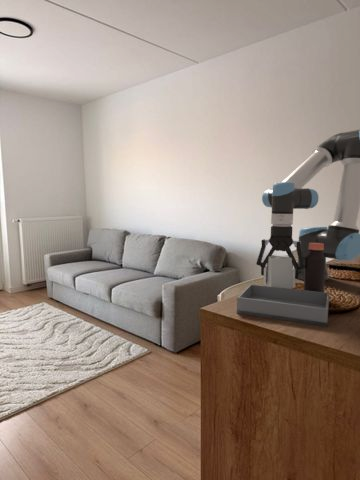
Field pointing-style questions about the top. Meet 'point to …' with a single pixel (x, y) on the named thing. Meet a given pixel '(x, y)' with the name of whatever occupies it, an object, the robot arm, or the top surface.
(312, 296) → the tray
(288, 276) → the skincare box
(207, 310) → the top surface
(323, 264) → the vinegar
